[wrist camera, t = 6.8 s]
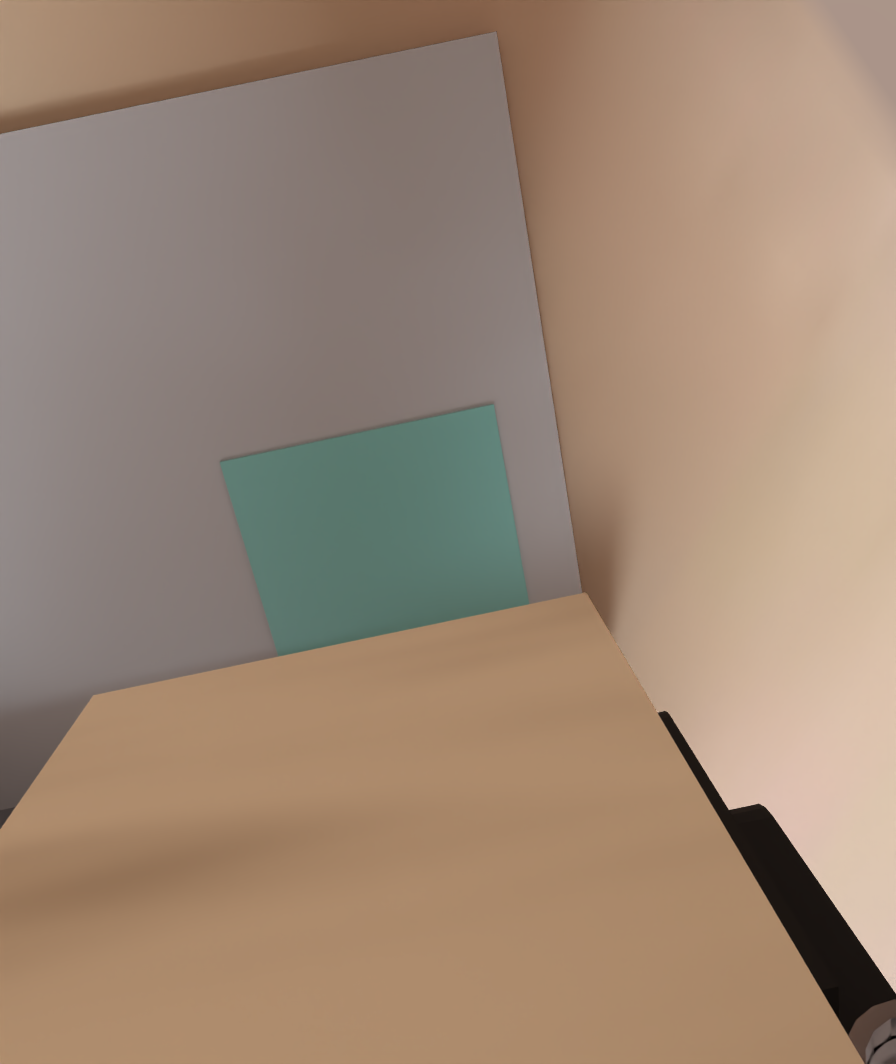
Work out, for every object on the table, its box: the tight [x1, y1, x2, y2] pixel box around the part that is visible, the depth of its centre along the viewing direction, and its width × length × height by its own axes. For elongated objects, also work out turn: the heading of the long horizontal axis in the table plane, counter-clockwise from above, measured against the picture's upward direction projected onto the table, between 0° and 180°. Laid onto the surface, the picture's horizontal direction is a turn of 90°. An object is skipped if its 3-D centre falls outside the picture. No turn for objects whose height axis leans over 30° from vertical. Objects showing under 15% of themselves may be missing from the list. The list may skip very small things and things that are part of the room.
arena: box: [0, 31, 582, 829], centre depth 18 cm, size 18×21×5 cm
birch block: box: [0, 592, 864, 1064], centre depth 8 cm, size 6×6×6 cm
